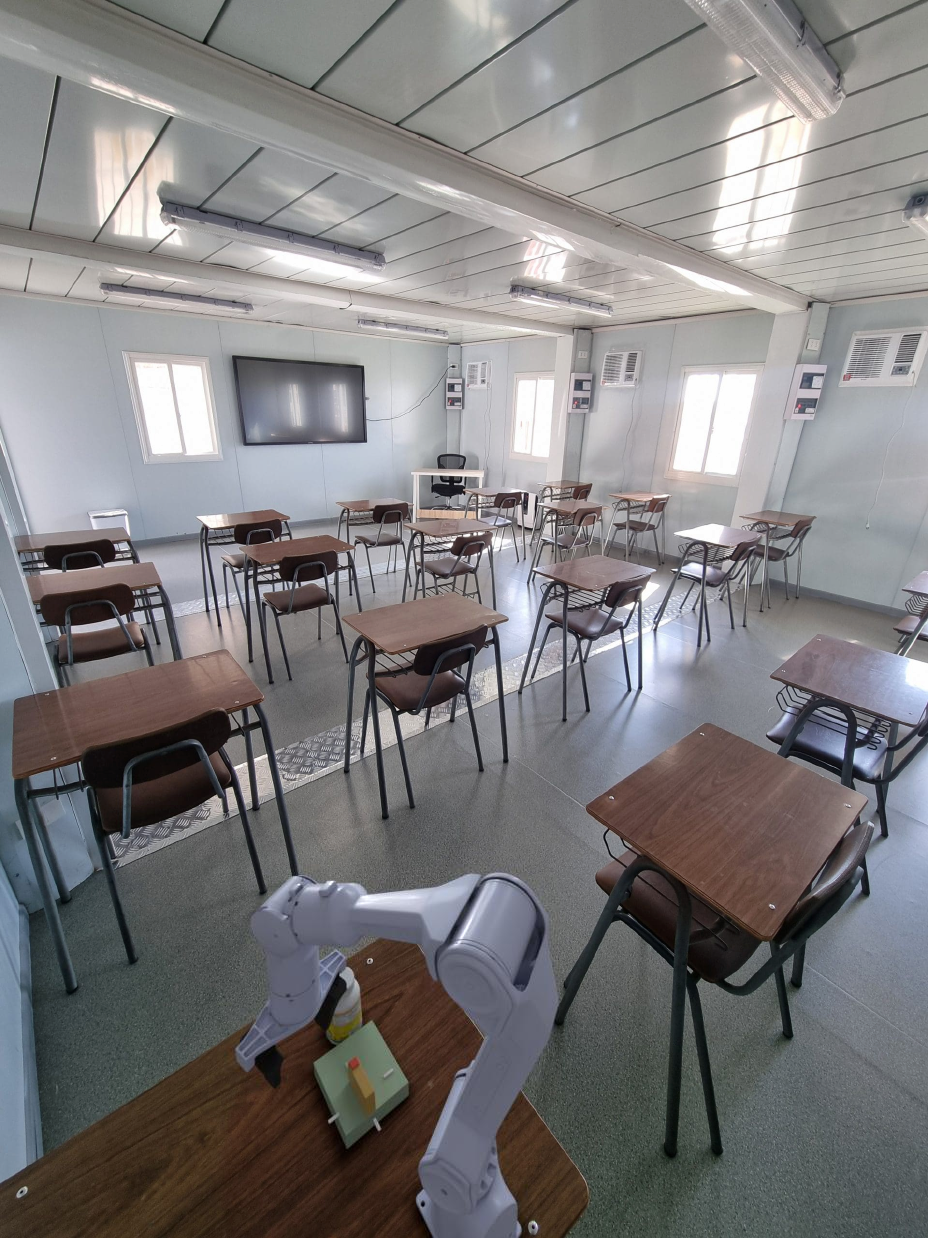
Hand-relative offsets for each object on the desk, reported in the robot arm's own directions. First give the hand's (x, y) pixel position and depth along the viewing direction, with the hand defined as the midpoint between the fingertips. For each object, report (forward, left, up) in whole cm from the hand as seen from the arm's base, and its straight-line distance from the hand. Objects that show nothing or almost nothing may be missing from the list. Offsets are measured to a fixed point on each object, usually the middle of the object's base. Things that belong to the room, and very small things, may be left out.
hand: (298, 1051), depth 63 cm
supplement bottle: (+6, -8, -10) cm, 15 cm away
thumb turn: (-5, -6, -8) cm, 11 cm away
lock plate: (-3, -6, -10) cm, 13 cm away
